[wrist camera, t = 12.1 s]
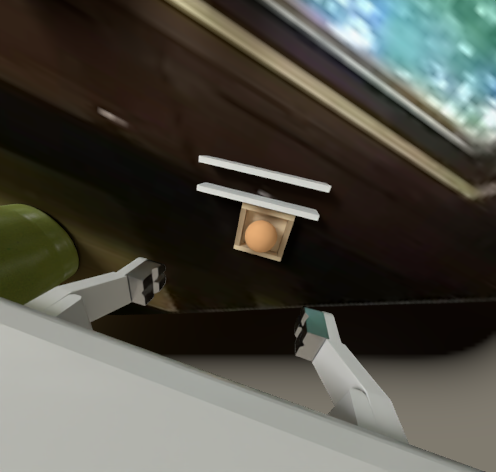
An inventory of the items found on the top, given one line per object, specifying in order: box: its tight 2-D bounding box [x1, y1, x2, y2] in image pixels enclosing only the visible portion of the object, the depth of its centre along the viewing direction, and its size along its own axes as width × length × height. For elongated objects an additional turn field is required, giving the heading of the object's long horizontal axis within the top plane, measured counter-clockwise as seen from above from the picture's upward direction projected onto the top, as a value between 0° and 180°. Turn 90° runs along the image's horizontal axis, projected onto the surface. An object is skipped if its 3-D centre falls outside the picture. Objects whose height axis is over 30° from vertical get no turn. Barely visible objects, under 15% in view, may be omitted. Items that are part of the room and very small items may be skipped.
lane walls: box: [197, 156, 331, 221], centre depth 26 cm, size 18×5×3 cm, turn 78°
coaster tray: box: [234, 202, 295, 261], centre depth 29 cm, size 8×8×2 cm
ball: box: [245, 220, 277, 253], centre depth 27 cm, size 5×5×5 cm
